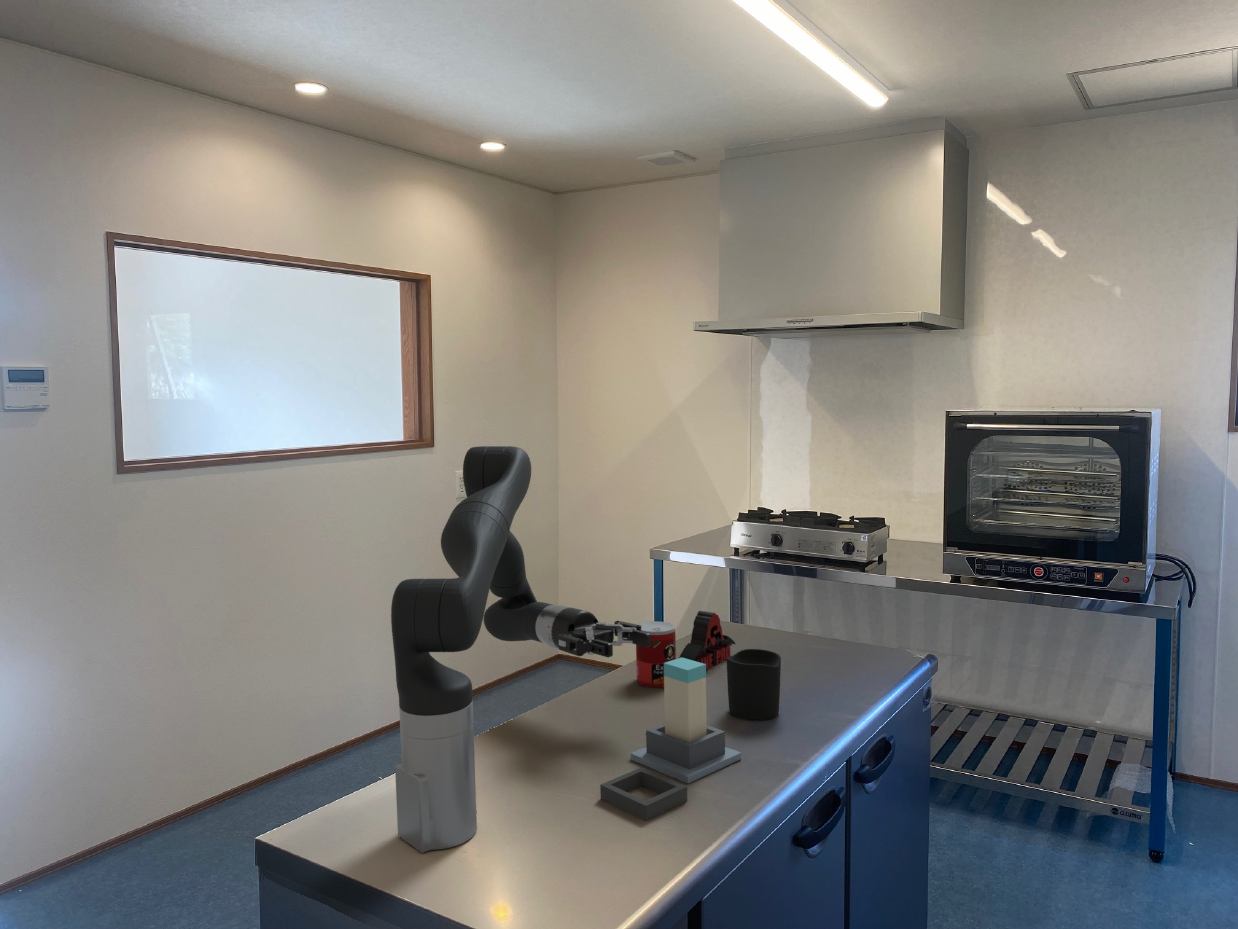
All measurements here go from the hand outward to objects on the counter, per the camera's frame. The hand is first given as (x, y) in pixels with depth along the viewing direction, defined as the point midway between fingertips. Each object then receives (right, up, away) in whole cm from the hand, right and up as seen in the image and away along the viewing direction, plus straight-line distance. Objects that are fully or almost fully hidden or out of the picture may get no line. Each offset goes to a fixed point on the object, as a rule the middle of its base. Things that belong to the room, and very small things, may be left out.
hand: (630, 645), depth 143 cm
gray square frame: (+2, -17, -20) cm, 27 cm away
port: (+8, -16, -7) cm, 19 cm away
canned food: (+5, -13, +30) cm, 33 cm away
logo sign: (+16, -12, +40) cm, 45 cm away
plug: (+8, -15, -7) cm, 19 cm away
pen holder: (+22, -14, +12) cm, 29 cm away
